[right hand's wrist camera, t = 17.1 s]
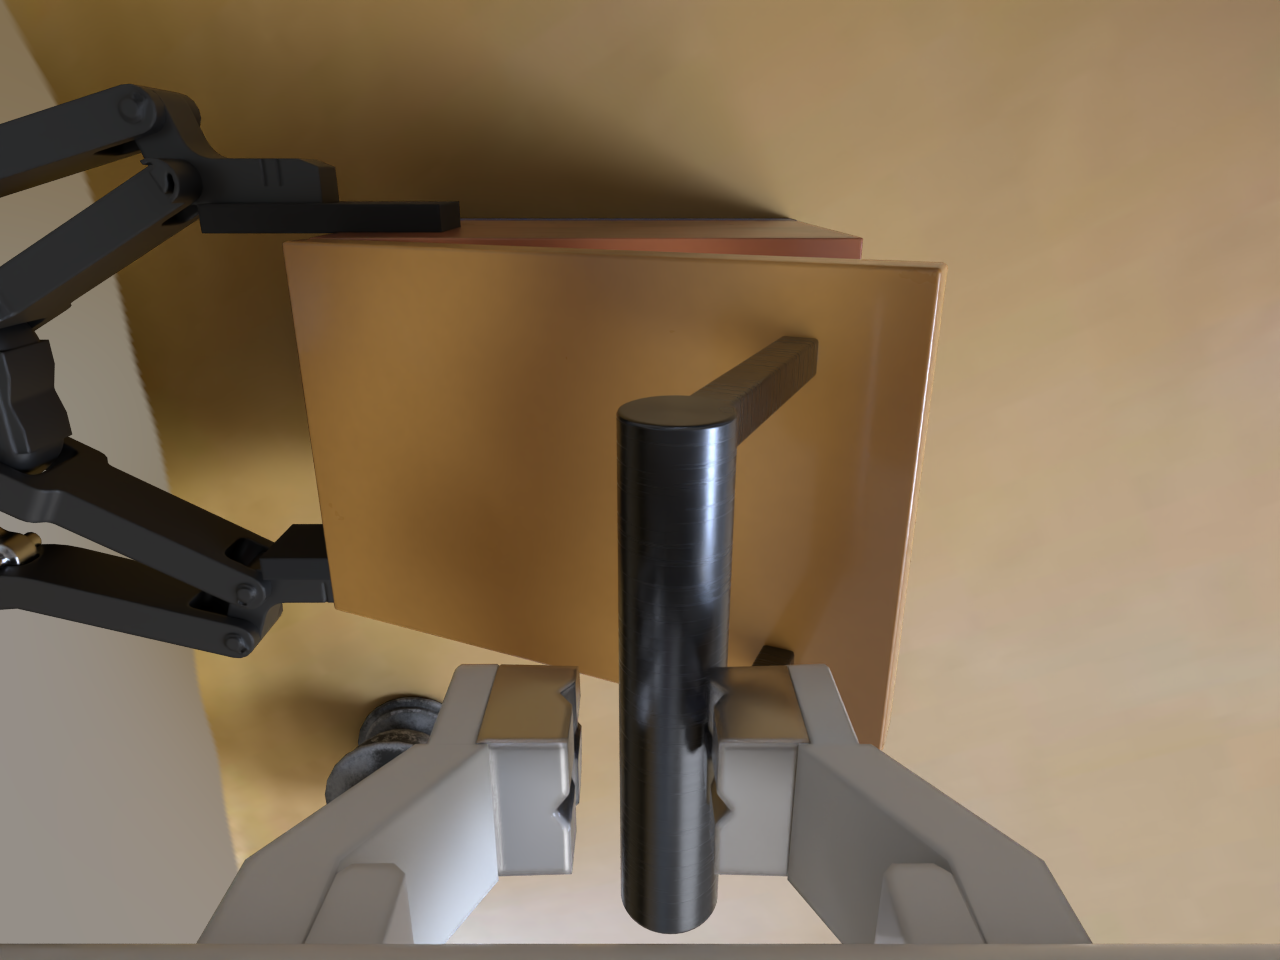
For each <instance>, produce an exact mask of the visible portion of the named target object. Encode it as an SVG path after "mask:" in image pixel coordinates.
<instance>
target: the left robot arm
mask: <svg viewBox="0 0 1280 960" xmlns="http://www.w3.org/2000/svg"><path fill="white" fill-rule="evenodd" d="M200 123H201V116H200V112H199V109H198V107H197V106H196V104H195V102H194V101H193V100H191V99H190V98H189V97H188V96H186V95H183V94H180V93H176V92H171V91H166V90H160V89H155V88H150V87H144V86H139V85H134V84H123V85H119V86H115V87H112V88H109V89H106V90H103V91H100V92H97V93H94V94H91V95H88V96H85V97H82V98H79V99H76V100H73V101H70V102H66V103H63V104H60V105H57V106H54V107H51V108H48V109H45V110H42V111H39V112H36V113H33V114H30V115H27V116H24V117H21V118H18V119H14V120H11V121H8V122H5V123H2V124H0V197H3V196H7V195H10V194H13V193H16V192H19V191H22V190H26V189H29V188H32V187H35V186H38V185H41V184H44V183H48V182H51V181H54V180H57V179H60V178H63V177H66V176H70V175H73V174H76V173H79V172H82V171H85V170H88V169H92V168H95V167H98V166H101V165H104V164H107V163H110V162H113V161H117V160H120V159H123V158H126V157H129V156H132V155H135V154H139V153H142V155H143V156H144V158H145V159H143V160H140V162H141V163H142V164H143V165H148V167H146V168H145V169H143V170H142V171H140V172H139V173H138V174H136V175H135V176H133V177H132V178H130V179H129V180H127V181H126V182H124V183H123V184H121V185H120V186H118V187H117V188H115V189H114V190H112V191H111V192H110V193H108V194H107V195H105V196H104V197H102V198H101V199H99V200H98V201H96V202H95V203H93V204H92V205H90V206H89V207H88V208H86V209H85V210H83V211H82V212H80V213H79V214H77V215H76V216H74V217H73V218H71V219H70V220H68V221H67V222H65V223H64V224H62V225H61V226H59V227H58V228H57V229H55V230H54V231H52V232H51V233H49V234H48V235H46V236H45V237H43V238H42V239H40V240H39V241H37V242H36V243H34V244H33V245H31V246H30V247H29V248H27V249H26V250H24V251H23V252H21V253H20V254H18V255H17V256H15V257H14V258H12V259H11V260H9V261H8V262H6V263H5V264H3V265H2V266H1V267H0V511H1V512H4V513H6V514H8V515H10V516H12V517H15V518H17V519H19V520H22V521H25V522H31V523H40V522H49V523H53V524H56V525H58V526H60V527H62V528H65V529H67V530H69V531H71V532H73V533H76V534H78V535H80V536H82V537H85V538H87V539H89V540H91V541H93V542H96V543H98V544H100V545H102V546H104V547H107V548H109V549H111V550H113V551H116V552H118V553H120V554H122V555H124V556H127V557H129V558H131V559H133V560H131V559H127V558H122V557H118V556H114V555H110V554H105V553H101V552H97V551H93V550H89V549H84V548H79V547H74V546H69V545H58V544H41V538H40V537H39V536H38V535H37V534H36V533H33V532H28V533H26V534H24V535H23V534H21V533H16V532H10V531H7V530H5V529H3V528H1V527H0V610H3V609H22V610H26V611H30V612H35V613H39V614H44V615H48V616H53V617H57V618H61V619H66V620H70V621H74V622H79V623H83V624H88V625H92V626H96V627H101V628H105V629H110V630H114V631H119V632H123V633H127V634H132V635H136V636H141V637H145V638H149V639H154V640H158V641H162V642H167V643H171V644H176V645H180V646H184V647H189V648H193V649H198V650H202V651H206V652H211V653H215V654H220V655H224V656H228V657H233V658H242V657H246V656H248V655H249V654H250V653H251V652H252V651H253V650H254V648H255V647H256V646H257V645H258V643H259V642H260V641H261V640H262V638H263V637H264V636H265V635H266V633H267V632H268V631H269V630H270V628H271V627H272V626H273V625H274V623H275V622H276V621H277V620H278V618H279V617H280V616H281V614H282V611H283V605H282V603H324V602H334V599H333V592H332V585H331V578H330V571H329V564H328V557H327V550H326V544H325V537H324V530H323V524H292V525H291V526H290V527H289V528H288V530H287V531H286V532H285V533H284V534H283V535H282V536H281V537H280V538H279V539H278V540H277V541H276V542H275V543H274V542H272V541H270V540H268V539H266V538H264V537H261V536H259V535H257V534H255V533H253V532H251V531H249V530H247V529H244V528H242V527H240V526H238V525H236V524H234V523H232V522H230V521H227V520H225V519H223V518H221V517H219V516H217V515H215V514H212V513H210V512H208V511H206V510H204V509H202V508H200V507H198V506H195V505H193V504H191V503H189V502H187V501H185V500H183V499H181V498H178V497H176V496H174V495H172V494H170V493H168V492H166V491H164V490H161V489H159V488H157V487H155V486H153V485H151V484H149V483H146V482H144V481H142V480H140V479H138V478H136V477H134V476H132V475H129V474H127V473H125V472H123V471H121V470H119V469H117V468H115V467H112V466H111V465H109V464H108V460H107V457H106V456H105V455H104V454H103V453H101V452H100V451H98V450H95V449H93V448H91V447H89V446H87V445H85V444H83V443H81V442H78V441H76V440H74V439H72V438H70V437H68V436H70V435H72V432H71V428H70V424H69V420H68V415H67V412H66V410H65V408H64V406H63V404H62V402H61V400H60V399H59V397H58V395H57V393H56V391H55V389H54V368H55V363H54V359H53V355H52V351H51V347H50V343H49V340H39V338H38V336H37V334H36V333H35V332H34V331H35V330H37V329H38V328H40V327H41V326H43V325H44V324H46V323H47V322H49V321H50V320H52V319H53V318H55V317H56V316H58V315H60V314H61V313H63V312H64V311H66V310H67V309H68V308H70V307H71V303H72V302H73V301H74V300H76V299H77V298H79V297H80V296H82V295H83V294H85V293H86V292H88V291H89V290H91V289H92V288H94V287H95V286H97V285H98V284H100V283H102V282H103V281H105V280H106V279H108V278H109V277H111V276H112V275H114V274H115V273H117V272H118V271H120V270H121V269H123V268H124V267H126V266H127V265H129V264H130V263H132V262H134V261H135V260H137V259H138V258H140V257H141V256H143V255H144V254H146V253H147V252H149V251H150V250H152V249H153V248H155V247H156V246H158V245H159V244H161V243H162V242H164V241H166V240H167V239H169V238H170V237H172V236H173V235H175V234H176V233H178V232H179V231H181V230H182V229H184V228H185V227H187V226H188V225H190V224H191V223H193V222H194V221H196V220H197V219H200V225H201V230H202V233H338V232H445V231H448V230H452V229H455V228H459V227H461V223H460V209H459V202H339V196H338V187H337V179H336V170H335V167H334V166H331V165H329V164H326V163H324V162H321V161H319V160H314V159H228V158H226V157H223V156H221V155H220V154H218V153H217V152H216V151H215V150H214V149H213V148H212V147H211V146H210V145H209V143H208V142H207V140H206V138H205V136H204V134H203V132H202V130H201V128H200ZM44 470H46V471H44ZM43 471H44V472H43Z"/></svg>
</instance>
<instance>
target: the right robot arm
mask: <svg viewBox="0 0 1280 960" xmlns="http://www.w3.org/2000/svg"><path fill="white" fill-rule="evenodd" d="M705 702H706V711H707V720H708V722H707V723H706V724H705V725H704V782H705V794H706V803H707V804H708V805H709V806H710V821H709V833H710V841H711V850H712V858H713V867H714V874H728V875H763V876H788V881H789V882H790V883H791V884H792V885H793V887H794V888H795V889H796V890H797V891H798V892H799V894H800V895H801V896H802V897H803V898H804V900H805V901H806V902H807V903H808V904H809V905H810V907H811V908H812V909H813V910H814V911H815V912H816V914H817V915H818V916H819V917H820V918H821V919H822V921H823V922H824V923H825V924H826V925H827V926H828V928H829V929H830V930H831V931H832V932H833V934H834V935H835V936H836V937H837V938H838V939H839V941H840V942H841V943H842V944H445V943H446V942H447V940H448V939H449V938H450V937H451V936H452V935H453V933H454V932H455V931H456V930H457V929H458V928H459V926H460V925H461V924H462V923H463V922H464V920H465V919H466V918H467V917H468V916H469V915H470V913H471V912H472V911H473V910H474V909H475V907H476V906H477V905H478V904H479V903H480V902H481V900H482V899H483V898H484V897H485V896H486V895H487V893H488V892H489V891H490V890H491V889H492V887H493V886H494V885H495V884H496V883H497V882H498V876H522V875H556V874H572V867H573V858H574V848H575V839H576V805H577V804H578V803H579V798H580V786H581V765H582V733H581V725H580V724H579V723H578V715H579V705H580V677H579V667H578V666H551V665H500V666H499V665H498V664H461V665H460V666H459V667H457V668H456V669H455V672H454V674H453V677H452V680H451V682H450V685H449V687H448V690H447V693H446V695H445V698H444V701H443V703H442V706H441V708H440V711H439V714H438V716H437V719H436V722H435V724H434V727H433V730H432V732H431V735H430V737H429V740H428V743H427V744H415V745H413V746H412V747H410V748H409V749H407V750H406V751H405V752H403V753H402V754H400V755H399V756H397V757H396V758H394V759H393V760H391V761H390V762H388V763H387V764H385V765H384V766H382V767H381V768H379V769H378V770H377V771H375V772H374V773H372V774H371V775H369V776H368V777H366V778H365V779H363V780H362V781H360V782H359V783H357V784H356V785H354V786H353V787H352V788H350V789H349V790H347V791H346V792H344V793H343V794H341V795H340V796H338V797H337V798H335V799H334V800H332V801H331V802H329V803H328V804H327V805H325V806H324V807H322V808H321V809H319V810H318V811H316V812H315V813H313V814H312V815H310V816H309V817H307V818H306V819H304V820H303V821H302V822H300V823H299V824H297V825H296V826H294V827H293V828H291V829H290V830H288V831H287V832H285V833H284V834H282V835H281V836H279V837H278V838H277V839H275V840H274V841H272V842H271V843H269V844H268V845H266V846H265V847H263V848H262V849H260V850H259V851H257V852H256V853H254V854H253V855H252V856H250V857H249V858H247V859H246V860H245V861H244V863H243V865H242V866H241V868H240V870H239V871H238V873H237V875H236V876H235V878H234V880H233V882H232V883H231V885H230V887H229V888H228V890H227V892H226V894H225V895H224V897H223V899H222V901H221V902H220V904H219V906H218V907H217V909H216V911H215V912H214V914H213V916H212V918H211V919H210V921H209V923H208V924H207V926H206V928H205V929H204V931H203V933H202V935H201V936H200V938H199V940H198V941H197V943H196V944H0V960H1280V944H1093V943H1092V941H1091V940H1090V938H1089V936H1088V935H1087V933H1086V931H1085V930H1084V928H1083V926H1082V925H1081V923H1080V921H1079V919H1078V918H1077V916H1076V914H1075V913H1074V911H1073V909H1072V908H1071V906H1070V904H1069V903H1068V901H1067V899H1066V897H1065V896H1064V894H1063V892H1062V891H1061V889H1060V887H1059V886H1058V884H1057V882H1056V881H1055V879H1054V877H1053V875H1052V874H1051V872H1050V870H1049V869H1048V867H1047V865H1046V864H1045V862H1044V861H1043V860H1042V859H1040V858H1039V857H1037V856H1036V855H1034V854H1033V853H1031V852H1030V851H1028V850H1027V849H1025V848H1024V847H1022V846H1021V845H1020V844H1018V843H1017V842H1015V841H1014V840H1012V839H1011V838H1009V837H1008V836H1006V835H1005V834H1003V833H1002V832H1000V831H999V830H997V829H996V828H994V827H993V826H991V825H990V824H988V823H987V822H986V821H984V820H983V819H981V818H980V817H978V816H977V815H975V814H974V813H972V812H971V811H969V810H968V809H966V808H965V807H963V806H962V805H960V804H959V803H957V802H956V801H955V800H953V799H952V798H950V797H949V796H947V795H946V794H944V793H943V792H941V791H940V790H938V789H937V788H935V787H934V786H932V785H931V784H929V783H928V782H926V781H925V780H923V779H922V778H921V777H919V776H918V775H916V774H915V773H913V772H912V771H910V770H909V769H907V768H906V767H904V766H903V765H901V764H900V763H898V762H897V761H895V760H894V759H892V758H891V757H889V756H888V755H887V754H885V753H884V752H882V751H881V750H879V749H878V748H876V747H875V746H873V745H872V744H859V742H858V739H857V737H856V734H855V732H854V729H853V726H852V724H851V721H850V719H849V716H848V714H847V711H846V709H845V706H844V704H843V701H842V699H841V696H840V694H839V691H838V689H837V686H836V684H835V681H834V679H833V676H832V674H831V671H830V668H829V667H828V666H827V665H825V664H802V665H782V666H742V667H707V669H706V680H705Z"/></svg>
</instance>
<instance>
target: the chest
mask: <svg viewBox="0 0 1280 960" xmlns="http://www.w3.org/2000/svg"><path fill="white" fill-rule="evenodd" d="M460 223H461V227H459V228H455V229H452V230H448V231H445V232H338V233H333V234H328V235H322V236H317V237H312V238H309V239H315V238H317V239H343V240H370V241H396V242H422V243H448V244H474V245H501V246H527V247H553V248H579V249H605V250H632V251H658V252H684V253H710V254H737V255H763V256H789V257H815V258H841V259H861V255H862V244H863V239H862V238H860V237H857V236H853V235H849V234H845V233H841V232H838V231H834V230H830V229H826V228H822V227H818V226H815V225H811V224H807V223H803V222H799V221H797V220H794V219H774V218H460Z"/></svg>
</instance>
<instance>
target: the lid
mask: <svg viewBox="0 0 1280 960" xmlns="http://www.w3.org/2000/svg"><path fill="white" fill-rule="evenodd" d="M282 247H283V254H284V260H285V267H286V274H287V281H288V288H289V295H290V302H291V309H292V316H293V323H294V329H295V336H296V343H297V350H298V357H299V364H300V371H301V378H302V385H303V392H304V399H305V405H306V412H307V419H308V426H309V433H310V440H311V447H312V454H313V461H314V468H315V475H316V481H317V488H318V495H319V502H320V509H321V516H322V523H323V530H324V537H325V544H326V550H327V557H328V564H329V571H330V578H331V585H332V592H333V599H334V606H335V608H336V609H337V610H340V611H344V612H348V613H352V614H356V615H359V616H363V617H367V618H371V619H375V620H378V621H382V622H386V623H390V624H394V625H398V626H401V627H405V628H409V629H413V630H417V631H420V632H424V633H428V634H432V635H436V636H439V637H443V638H447V639H451V640H455V641H459V642H462V643H466V644H470V645H474V646H478V647H481V648H485V649H489V650H493V651H497V652H500V653H504V654H508V655H512V656H516V657H520V658H523V659H527V660H531V661H535V662H539V663H542V664H546V665H551V666H578V667H579V673H580V674H584V675H588V676H592V677H596V678H600V679H603V680H607V681H611V682H615V683H619V740H620V843H621V898H622V902H623V905H624V907H625V909H626V911H627V912H628V914H629V915H630V916H631V918H632V919H633V920H634V921H636V922H637V923H638V924H639V925H641V926H643V927H644V928H646V929H649V930H651V931H654V932H658V933H663V934H678V933H684V932H687V931H690V930H692V929H695V928H696V927H698V926H700V925H701V924H702V923H704V922H705V921H706V920H707V919H708V918H709V916H710V915H711V914H712V912H713V910H714V908H715V905H716V902H717V893H718V874H714V867H713V858H712V850H711V841H710V833H709V821H710V806H709V805H708V804H707V803H706V794H705V782H704V725H705V724H706V723H707V722H708V720H707V711H706V702H705V680H706V669H707V667H742V666H782V665H802V664H825V665H827V666H828V667H829V668H830V671H831V674H832V676H833V679H834V681H835V684H836V686H837V689H838V691H839V694H840V696H841V699H842V701H843V704H844V706H845V709H846V711H847V714H848V716H849V719H850V721H851V724H852V726H853V729H854V732H855V734H856V737H857V739H858V742H859V744H872V745H873V746H875V747H876V748H878V749H879V750H881V751H882V749H883V747H884V743H885V739H886V735H887V732H888V728H889V724H890V718H891V710H892V702H893V694H894V686H895V678H896V670H897V662H898V655H899V647H900V639H901V631H902V623H903V615H904V607H905V599H906V591H907V584H908V576H909V568H910V560H911V552H912V544H913V536H914V528H915V520H916V513H917V505H918V497H919V489H920V481H921V473H922V465H923V457H924V449H925V442H926V434H927V426H928V418H929V410H930V402H931V394H932V386H933V378H934V370H935V363H936V355H937V347H938V339H939V331H940V323H941V315H942V307H943V299H944V292H945V284H946V276H947V264H945V263H943V262H920V261H894V260H868V259H841V258H815V257H789V256H763V255H737V254H710V253H684V252H658V251H632V250H605V249H579V248H553V247H527V246H501V245H474V244H448V243H422V242H396V241H370V240H343V239H317V238H315V239H304V240H292V241H285V242H283V244H282Z"/></svg>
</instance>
